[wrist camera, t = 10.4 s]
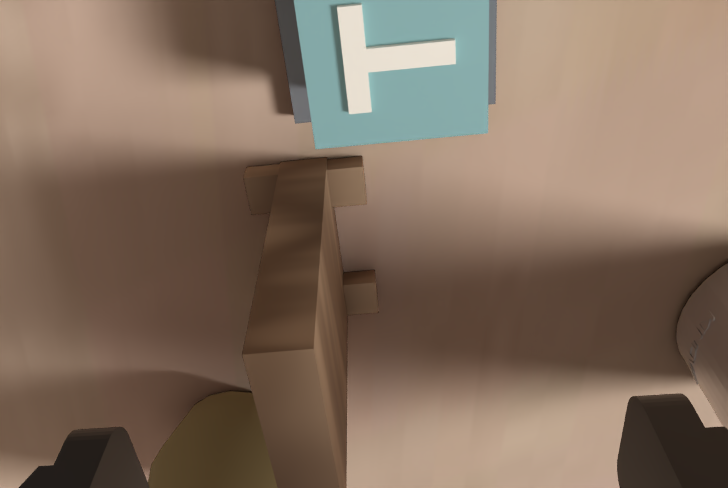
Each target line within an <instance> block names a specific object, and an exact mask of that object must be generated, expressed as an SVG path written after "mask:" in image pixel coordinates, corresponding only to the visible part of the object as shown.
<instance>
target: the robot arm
mask: <svg viewBox="0 0 728 488" xmlns="http://www.w3.org/2000/svg"><path fill="white" fill-rule="evenodd" d="M676 340H677V344H678V349H679V352H680V354H681V356H682V357H683V359H684V361H685V362H686V364H687V366H688V367H689V369H690V371H691V373H692V376H693V378H694V380H695V381H696V383H697V384H698V385H699V386H700V388H701V389H702V391H703V393H704V394H705V396H706V398H707V400H708V401H709V403H710V405H711V406H712V408H713V410H714V411H715V413H716V415H717V417H718V419H719V420H720V422H721V424H722V425H723V427H709V428H705V427H704V425H703V423H702V421H701V420H700V418H699V416H698V414H697V413H696V411H695V409H694V407H693V405H692V404H691V402H690V401H689V399H688V398H687V397H686V396H685V395H683V394H663V395H647V396H633V397H631V398H630V399H629V402H628V405H627V411H626V416H625V422H624V427H623V432H622V438H621V443H620V449H619V454H618V460H617V472H618V481H619V486H620V488H728V263H727V264H726V265H724V266H722V267H721V268H720V269H718V270H717V271H716V272H715V273H713V274H712V275H711V276H709V277H708V278H707V279H706V280H705V281H704V282H703V283H702V284H701V285H700V286H699V287H698V288H697V289H696V291H695V292H694V293H693V294H692V295H691V297H690V298H689V300H688V302H687V303H686V305H685V306H684V308H683V310H682V312H681V315H680V318H679V321H678V324H677V335H676ZM19 488H149V485H148V482H147V480H146V477H145V475H144V472H143V470H142V467H141V465H140V462H139V460H138V457H137V455H136V452H135V450H134V447H133V445H132V442H131V440H130V438H129V435H128V433H127V431H126V430H125V429H124V428H123V427H110V428H94V429H78V430H74V431H72V432H71V433H70V434H69V435H68V437H67V438H66V440H65V442H64V444H63V446H62V448H61V451H60V453H59V455H58V457H57V459H56V461H55V463H54V465H51V466H39V467H38V468H37V469H36V470H35V471H34V472H33V473H32V474H31V475H30V476H29V477H28V478H27V479H26V480H25V482H24V483H23V484H22V485H21V486H20V487H19Z"/></svg>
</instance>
